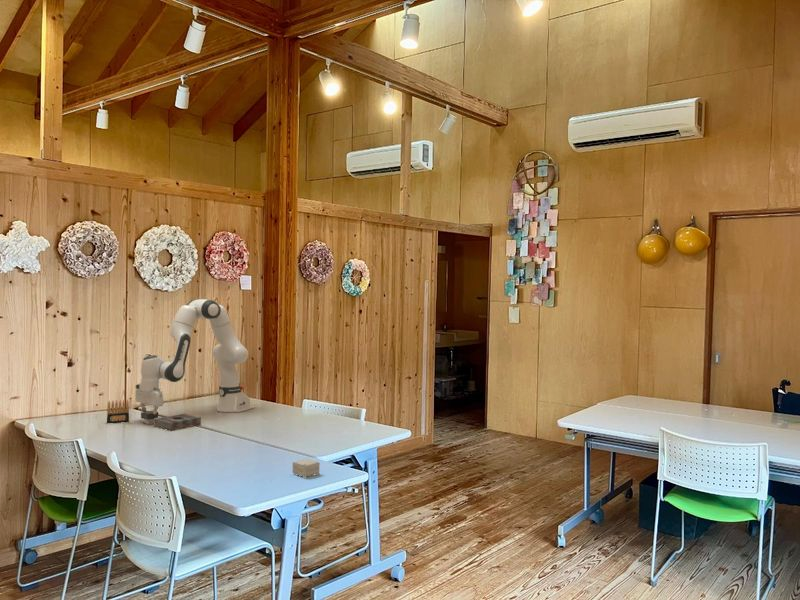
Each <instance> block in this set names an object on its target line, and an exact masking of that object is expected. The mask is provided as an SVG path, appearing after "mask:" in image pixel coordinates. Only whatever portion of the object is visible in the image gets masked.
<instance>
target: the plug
mask: <svg viewBox="0 0 800 600" xmlns="http://www.w3.org/2000/svg"><path fill="white" fill-rule="evenodd" d="M152 411H153V410H148V411H147V410H146V411H145V412H143V411H141V412H140V419H143V420H144V424H145V423H146V425H151V423H152V424H154V422H155V419H158V418H159V412H158V411H157V414H152Z"/></svg>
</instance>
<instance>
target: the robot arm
mask: <svg viewBox="0 0 800 600" xmlns="http://www.w3.org/2000/svg"><path fill="white" fill-rule="evenodd" d="M198 319H200V320H205V319H207V320H209V324H210V326H211V330H212V332H213V336H214V339H215V340H216V341H217V342H218V344H216V345H214V347H213V348H212V356H213V358H214V360H215V362H216V363H217V366H218V370H219V387H218V394H219V396H218V403H217V407H216V411H217V412H222V413H241V412H246V411H248V410H253V409H255V406H254V405H253V404H251V399H250V397H249V396H247V394H245V393H244V392H243V391H242V390H245V388H246V387H245V386H244V385H240V371H239V370H238V368H237V367H236V365H237V364H242V363H246V361H247V360H248V357H249V351H248V349H247V347H245V346H244V345H243V344H242V343H241V341H240V340H239V338H238V337H237V335H236V333H235V331H234V329H233V325H232V322H231V319H230V316H229V314H228V311H227V310H226V308H225V306H223V305H222V304H218V302H217V301H214V300H212V299H206V298H199V299H198V298H197V299H196V298H195V299H191V300H190V301H188V302H187V304H183V305H181V306H180V308H179V309H178V310H177V312H176V313H175V316H174V318H173V321H172V323H171V325H170V330H169V333H170V336H171V338H172V339H173V340H174V341H175V343H176V349H175V354H174V357H173V360H172V361H168V360H166V359H163V358H160V357H159V356H158V355H154V354H153V355H152V354H151V355H148V356H145V357H143V359H142V362H141V368H140V374H141V379H140V383H137V384H135V386H134V388H135V392H134V393H135V398H134V399H135V402H136V403H140V405H139V406H140V408H141V412H147V408H146V405H147V406H148V405H149V406H152V407H153V409H152V410H151V411H152V414H157V412H158V409H159V407H163V406H164V394H163V392H162V390H161V388H159V387H160V379H162V380H167V381H168V382H173V383H175V382H176V383H178V382H179V381H181V380H182V379H183V377H184V376H185V372H186V362H187V357H188V353H189V350H190V346H191V339H192V338H191V336H192V331H193V328H194V326H195V323H196V321H197V320H198Z"/></svg>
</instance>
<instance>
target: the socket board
mask: <svg viewBox="0 0 800 600" xmlns="http://www.w3.org/2000/svg"><path fill="white" fill-rule="evenodd" d="M201 420H202V418H201V417H200V416H196V415H192V414H188V413H187V414H186V413H181V414H175V415H169V416H166V417H164V416H163V417H158V418H154V423H153V425H154V428H157V427H158V429H161V428H162V430H165V429H167V430H166V431H169V430H170V431H169V432H172V430H173V431H178V430H183V429H187V427H188V428H191V427H197V426H201V425H202V422H201ZM182 428H183V429H182ZM177 429H178V430H177Z"/></svg>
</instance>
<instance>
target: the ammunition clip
mask: <svg viewBox="0 0 800 600" xmlns="http://www.w3.org/2000/svg"><path fill="white" fill-rule="evenodd" d="M106 410H107V411H106V413H107V416H106V424H107V423H113V424H122V423H121V422H125V423H130V406H129V400H128V399H126V401H125V399H123V401H121V399H119V402H118V400H115V402H114V400H112V402H111V401H110V400H108V402H107V409H106Z"/></svg>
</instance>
